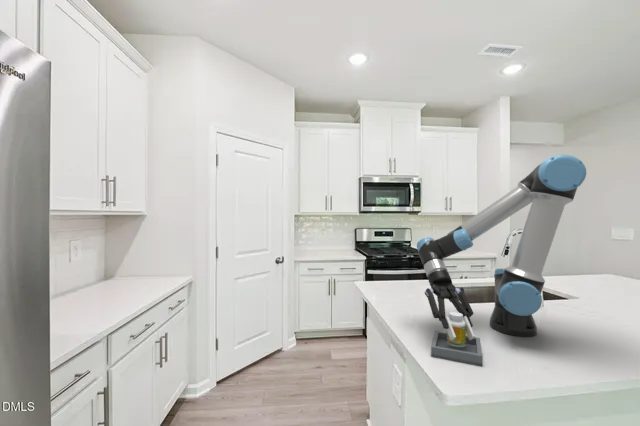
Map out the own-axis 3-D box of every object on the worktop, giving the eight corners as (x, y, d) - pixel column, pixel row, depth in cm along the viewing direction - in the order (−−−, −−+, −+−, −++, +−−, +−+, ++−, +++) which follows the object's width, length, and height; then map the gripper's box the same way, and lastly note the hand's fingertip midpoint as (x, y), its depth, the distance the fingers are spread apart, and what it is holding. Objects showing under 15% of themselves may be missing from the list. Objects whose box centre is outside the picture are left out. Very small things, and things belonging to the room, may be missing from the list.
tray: (480, 347, 98) (479, 338, 98) (482, 366, 85) (482, 356, 85) (435, 339, 104) (435, 330, 104) (431, 356, 91) (431, 346, 91)
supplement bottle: (464, 349, 91) (464, 317, 91) (446, 345, 94) (445, 314, 94) (466, 342, 96) (466, 312, 96) (448, 339, 98) (448, 310, 98)
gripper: (458, 279, 111) (485, 342, 94) (410, 280, 109) (430, 344, 93) (465, 268, 105) (496, 332, 89) (416, 269, 104) (437, 334, 88)
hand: (462, 338), depth 91 cm, fingers closed on supplement bottle, 5 cm apart
